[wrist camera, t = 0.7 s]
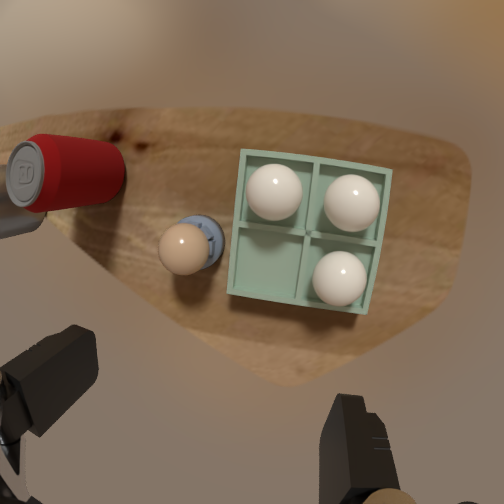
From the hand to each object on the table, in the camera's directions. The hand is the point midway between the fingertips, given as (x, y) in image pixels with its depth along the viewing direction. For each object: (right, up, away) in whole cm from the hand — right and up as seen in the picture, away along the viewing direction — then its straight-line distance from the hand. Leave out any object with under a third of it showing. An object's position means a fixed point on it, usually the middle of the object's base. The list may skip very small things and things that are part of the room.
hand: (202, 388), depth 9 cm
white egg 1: (+4, +9, +17) cm, 20 cm away
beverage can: (-14, +13, +22) cm, 29 cm away
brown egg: (-4, +5, +19) cm, 20 cm away
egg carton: (+7, +6, +19) cm, 21 cm away
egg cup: (-3, +5, +21) cm, 22 cm away
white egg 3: (+9, +3, +17) cm, 20 cm away
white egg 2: (+10, +8, +16) cm, 20 cm away
